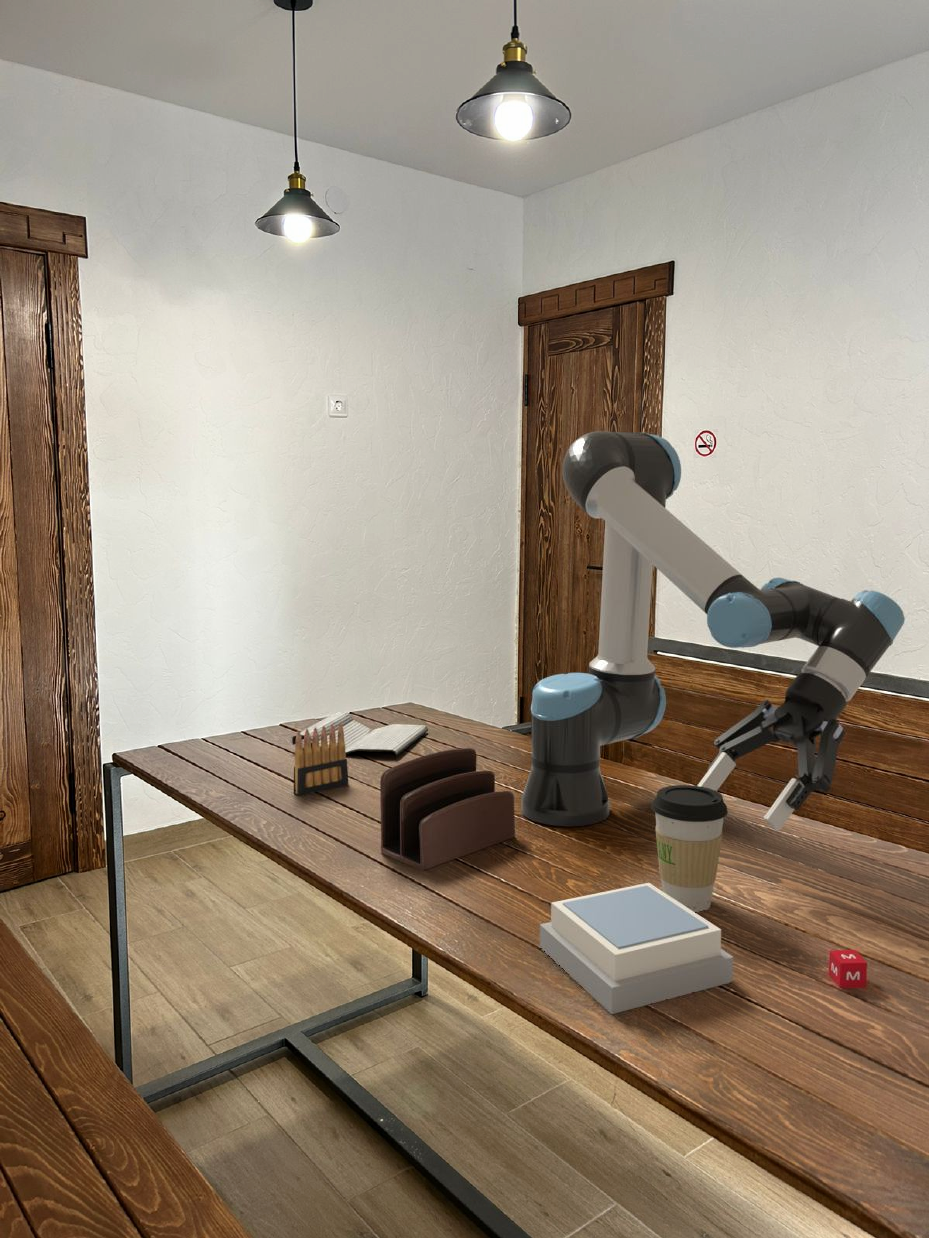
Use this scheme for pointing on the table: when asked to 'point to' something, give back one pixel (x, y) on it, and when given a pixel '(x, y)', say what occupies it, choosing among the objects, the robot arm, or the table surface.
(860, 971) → the red letter cube
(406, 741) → the open book
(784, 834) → the table surface
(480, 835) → the letter holder
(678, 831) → the coffee cup
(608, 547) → the robot arm
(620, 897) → the plinth
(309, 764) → the ammunition clip
